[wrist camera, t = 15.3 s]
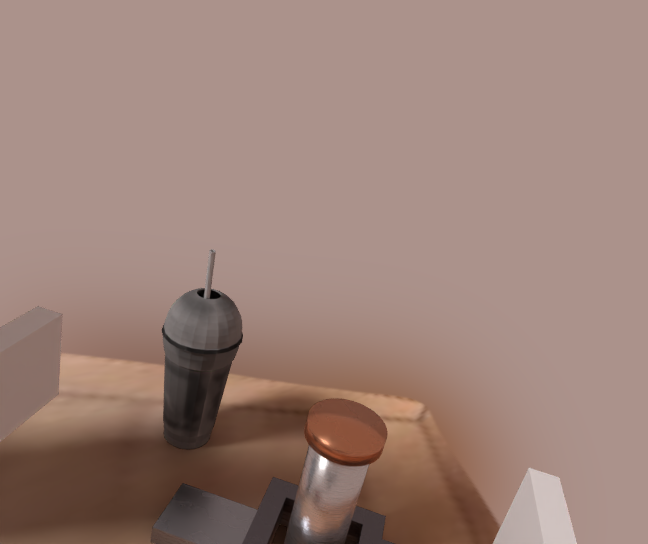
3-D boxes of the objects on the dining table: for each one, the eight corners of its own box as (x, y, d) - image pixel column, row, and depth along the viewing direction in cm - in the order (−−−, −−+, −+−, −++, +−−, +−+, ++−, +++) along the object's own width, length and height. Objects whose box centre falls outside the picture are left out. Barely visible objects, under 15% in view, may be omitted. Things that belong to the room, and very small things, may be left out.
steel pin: (257, 555, 43) (292, 408, 38) (313, 530, 47) (352, 392, 41) (296, 616, 39) (341, 461, 34) (355, 584, 43) (403, 438, 37)
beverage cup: (232, 419, 58) (265, 243, 50) (213, 467, 51) (248, 270, 44) (164, 403, 58) (188, 224, 50) (136, 448, 51) (159, 249, 44)
